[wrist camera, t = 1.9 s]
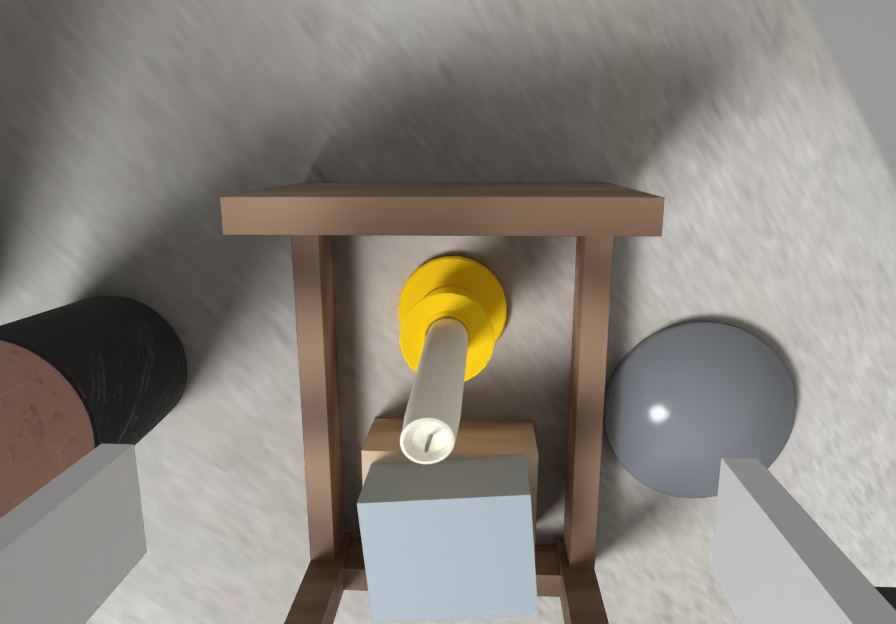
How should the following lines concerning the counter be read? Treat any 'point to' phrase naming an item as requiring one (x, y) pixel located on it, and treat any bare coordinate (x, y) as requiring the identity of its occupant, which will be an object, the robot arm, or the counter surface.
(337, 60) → the counter surface
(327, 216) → the frame
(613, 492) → the counter surface
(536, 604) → the offcut upper
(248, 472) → the counter surface
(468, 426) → the offcut lower
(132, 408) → the travel mug
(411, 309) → the candle
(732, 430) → the disc
